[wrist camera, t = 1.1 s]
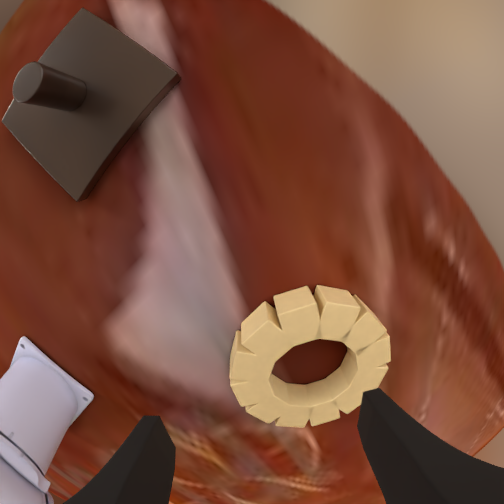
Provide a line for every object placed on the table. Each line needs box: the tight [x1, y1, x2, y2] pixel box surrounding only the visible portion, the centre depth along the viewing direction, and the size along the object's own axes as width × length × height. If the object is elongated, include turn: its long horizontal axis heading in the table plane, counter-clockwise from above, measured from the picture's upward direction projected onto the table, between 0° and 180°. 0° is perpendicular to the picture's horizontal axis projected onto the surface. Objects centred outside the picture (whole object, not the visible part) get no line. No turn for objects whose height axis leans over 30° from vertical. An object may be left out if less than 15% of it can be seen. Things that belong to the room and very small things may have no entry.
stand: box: [2, 8, 181, 202], centre depth 11 cm, size 9×9×6 cm
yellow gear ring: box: [229, 285, 391, 427], centre depth 18 cm, size 10×10×2 cm
